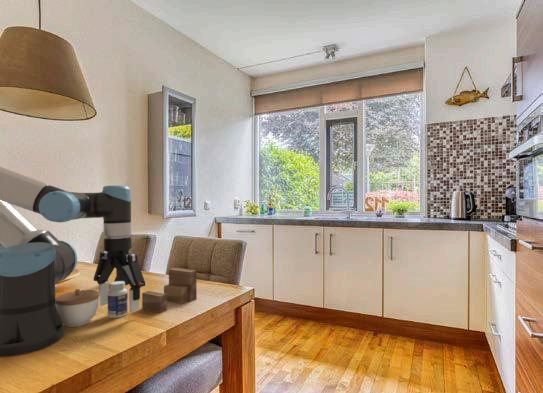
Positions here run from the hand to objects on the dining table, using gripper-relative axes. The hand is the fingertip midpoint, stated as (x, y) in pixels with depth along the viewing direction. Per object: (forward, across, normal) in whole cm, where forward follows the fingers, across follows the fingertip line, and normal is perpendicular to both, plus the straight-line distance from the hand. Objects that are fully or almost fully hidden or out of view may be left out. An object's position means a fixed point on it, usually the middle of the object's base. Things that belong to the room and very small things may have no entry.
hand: (118, 307), depth 95 cm
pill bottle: (+2, 0, 0) cm, 2 cm away
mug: (+2, +30, -26) cm, 40 cm away
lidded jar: (+2, +5, +9) cm, 11 cm away
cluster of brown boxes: (+2, -6, -15) cm, 16 cm away
